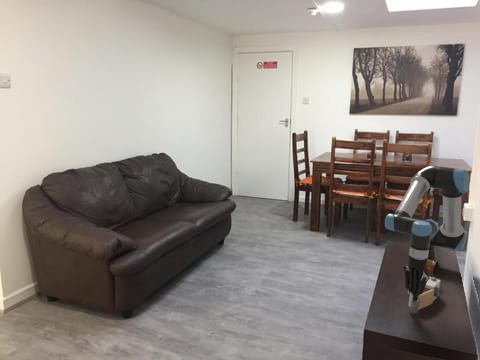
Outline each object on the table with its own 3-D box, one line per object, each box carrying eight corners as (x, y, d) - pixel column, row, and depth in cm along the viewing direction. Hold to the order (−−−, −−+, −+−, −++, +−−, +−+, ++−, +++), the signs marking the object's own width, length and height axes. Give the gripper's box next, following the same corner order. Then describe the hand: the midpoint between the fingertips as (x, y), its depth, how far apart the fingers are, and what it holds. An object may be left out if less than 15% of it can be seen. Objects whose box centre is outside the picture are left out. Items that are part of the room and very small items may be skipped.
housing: (415, 287, 199) (417, 271, 197) (441, 296, 191) (443, 279, 189) (407, 294, 192) (409, 277, 190) (434, 303, 183) (436, 286, 182)
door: (409, 311, 176) (410, 296, 174) (430, 302, 184) (432, 287, 183) (411, 313, 174) (413, 297, 173) (433, 303, 183) (435, 288, 182)
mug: (413, 275, 213) (415, 257, 211) (430, 277, 211) (433, 259, 209) (418, 285, 201) (420, 267, 199) (437, 287, 200) (439, 268, 197)
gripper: (400, 252, 176) (394, 300, 181) (423, 263, 164) (416, 315, 169) (413, 250, 179) (407, 297, 184) (436, 261, 167) (429, 311, 172)
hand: (411, 305), depth 177 cm, fingers closed
